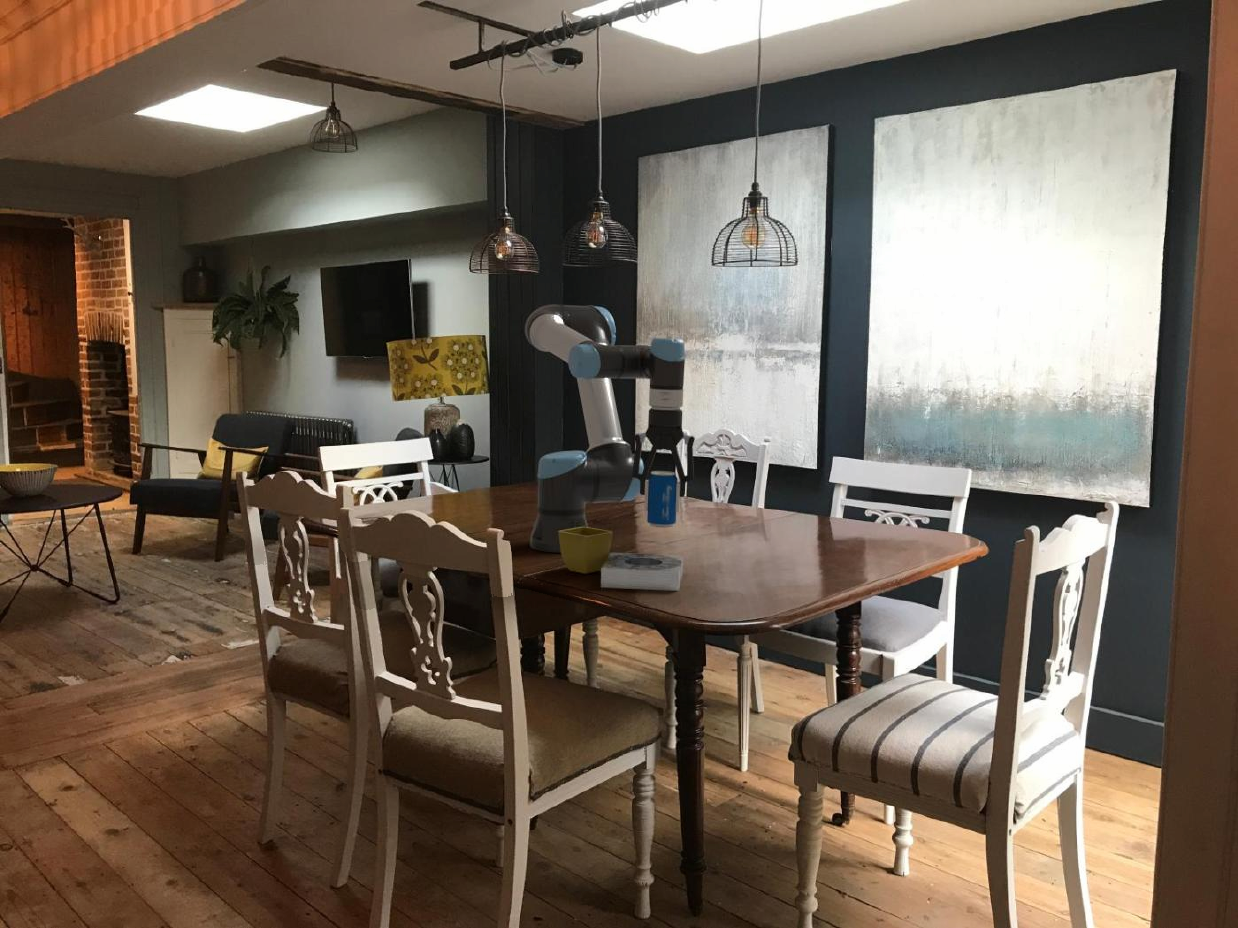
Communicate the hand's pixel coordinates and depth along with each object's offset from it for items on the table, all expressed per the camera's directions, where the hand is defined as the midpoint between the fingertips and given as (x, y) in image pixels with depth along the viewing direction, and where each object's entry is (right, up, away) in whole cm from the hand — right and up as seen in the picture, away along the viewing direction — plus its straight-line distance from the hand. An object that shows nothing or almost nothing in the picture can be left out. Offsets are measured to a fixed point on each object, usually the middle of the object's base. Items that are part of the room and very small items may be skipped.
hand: (661, 510), depth 225 cm
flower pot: (-17, -13, -5) cm, 22 cm away
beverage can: (0, -4, 0) cm, 4 cm away
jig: (-5, -14, -13) cm, 20 cm away
